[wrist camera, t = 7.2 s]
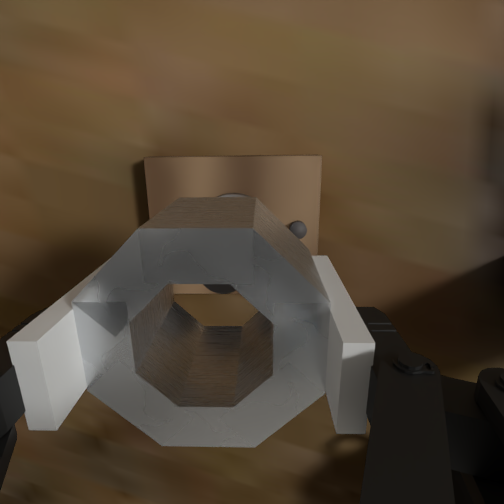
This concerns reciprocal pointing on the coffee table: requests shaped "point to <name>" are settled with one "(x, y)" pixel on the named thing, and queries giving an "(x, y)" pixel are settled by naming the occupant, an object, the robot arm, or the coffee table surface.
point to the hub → (206, 337)
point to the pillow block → (241, 192)
